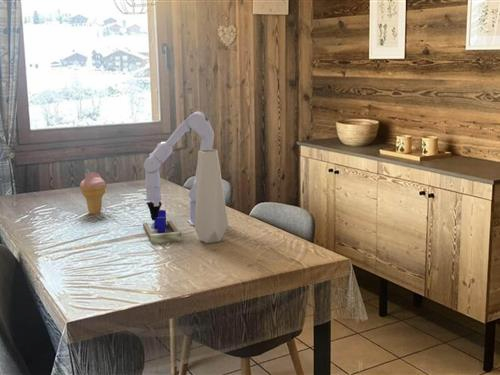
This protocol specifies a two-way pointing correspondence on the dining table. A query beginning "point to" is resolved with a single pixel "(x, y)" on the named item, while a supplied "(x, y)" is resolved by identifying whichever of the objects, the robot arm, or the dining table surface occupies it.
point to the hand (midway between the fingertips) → (154, 219)
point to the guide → (163, 234)
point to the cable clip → (160, 221)
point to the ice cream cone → (93, 191)
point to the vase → (210, 198)
